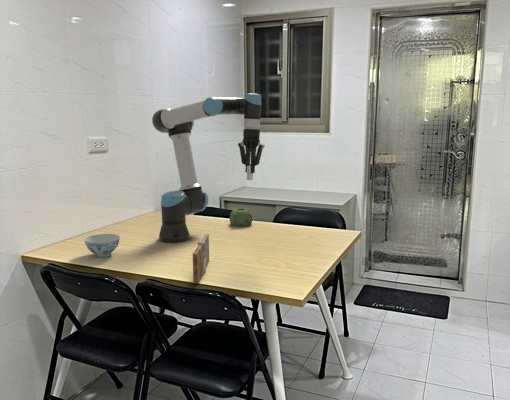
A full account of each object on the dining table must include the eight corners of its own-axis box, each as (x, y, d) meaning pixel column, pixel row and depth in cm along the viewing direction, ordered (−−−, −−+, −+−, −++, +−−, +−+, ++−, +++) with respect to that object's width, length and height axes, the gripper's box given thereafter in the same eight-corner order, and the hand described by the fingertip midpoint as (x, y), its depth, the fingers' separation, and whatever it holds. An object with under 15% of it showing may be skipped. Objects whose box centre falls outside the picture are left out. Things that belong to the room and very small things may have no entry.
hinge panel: (203, 260, 201) (203, 233, 198) (210, 261, 201) (210, 233, 198) (198, 273, 186) (197, 244, 183) (205, 273, 186) (204, 244, 183)
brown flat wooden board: (199, 269, 189) (198, 241, 186) (206, 269, 188) (206, 241, 186) (191, 283, 174) (190, 253, 171) (199, 283, 173) (198, 253, 171)
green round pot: (236, 220, 273) (236, 206, 272) (256, 222, 268) (256, 208, 266) (222, 226, 259) (222, 211, 258) (243, 229, 253) (243, 213, 252)
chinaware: (84, 252, 213) (83, 235, 212) (118, 248, 219) (117, 232, 218) (86, 261, 200) (85, 244, 198) (123, 257, 206) (122, 240, 204)
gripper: (268, 129, 212) (266, 180, 217) (243, 127, 219) (241, 177, 223) (260, 129, 206) (258, 182, 211) (234, 127, 213) (233, 179, 217)
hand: (249, 179), depth 217 cm, fingers closed
